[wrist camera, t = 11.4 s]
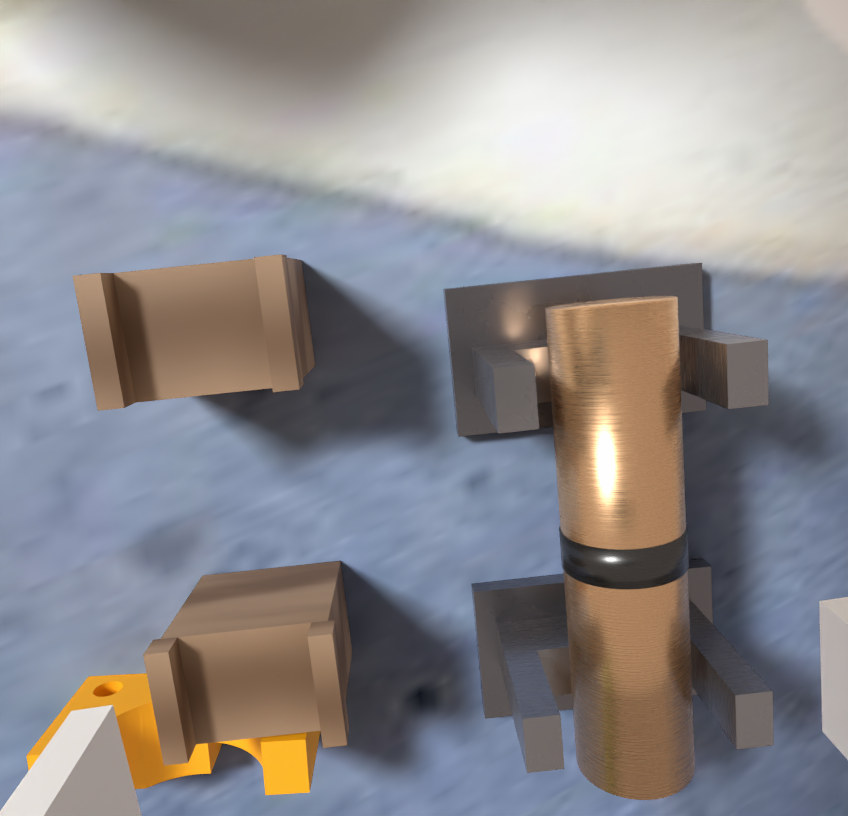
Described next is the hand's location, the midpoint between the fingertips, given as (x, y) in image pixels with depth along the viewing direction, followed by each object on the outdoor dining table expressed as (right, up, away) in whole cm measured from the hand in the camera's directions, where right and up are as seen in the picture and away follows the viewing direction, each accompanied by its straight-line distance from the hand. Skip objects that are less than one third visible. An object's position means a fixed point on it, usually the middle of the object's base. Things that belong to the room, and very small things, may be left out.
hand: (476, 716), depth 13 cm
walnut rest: (-9, +3, +22) cm, 24 cm away
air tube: (+7, 0, +17) cm, 18 cm away
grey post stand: (+7, +1, +23) cm, 24 cm away
